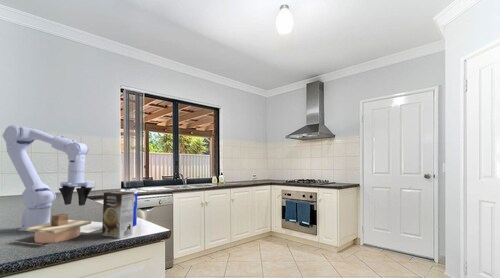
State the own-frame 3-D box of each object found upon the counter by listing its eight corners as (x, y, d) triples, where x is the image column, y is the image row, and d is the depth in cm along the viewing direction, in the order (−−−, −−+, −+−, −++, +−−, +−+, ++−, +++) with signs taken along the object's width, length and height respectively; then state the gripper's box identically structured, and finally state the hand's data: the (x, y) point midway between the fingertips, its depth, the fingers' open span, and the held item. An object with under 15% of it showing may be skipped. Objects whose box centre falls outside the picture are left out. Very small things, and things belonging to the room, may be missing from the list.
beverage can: (131, 228, 108) (132, 191, 109) (120, 228, 109) (121, 191, 110) (139, 225, 113) (140, 190, 114) (128, 225, 114) (129, 190, 115)
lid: (24, 230, 91) (25, 217, 91) (63, 221, 104) (64, 210, 105) (54, 233, 87) (55, 220, 87) (91, 223, 100) (91, 212, 100)
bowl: (25, 242, 91) (25, 230, 91) (61, 232, 103) (62, 221, 103) (52, 245, 87) (53, 233, 87) (87, 235, 99) (88, 224, 99)
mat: (58, 231, 105) (58, 229, 105) (91, 222, 119) (91, 221, 119) (87, 234, 100) (88, 232, 100) (118, 224, 115) (118, 223, 115)
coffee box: (100, 236, 97) (102, 192, 98) (115, 232, 103) (117, 190, 104) (119, 239, 93) (120, 193, 95) (133, 234, 99) (134, 191, 101)
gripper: (53, 171, 107) (51, 205, 106) (81, 172, 103) (79, 207, 102) (70, 171, 114) (68, 202, 113) (96, 171, 110) (95, 204, 109)
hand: (74, 204), depth 108 cm, fingers open, 7 cm apart
